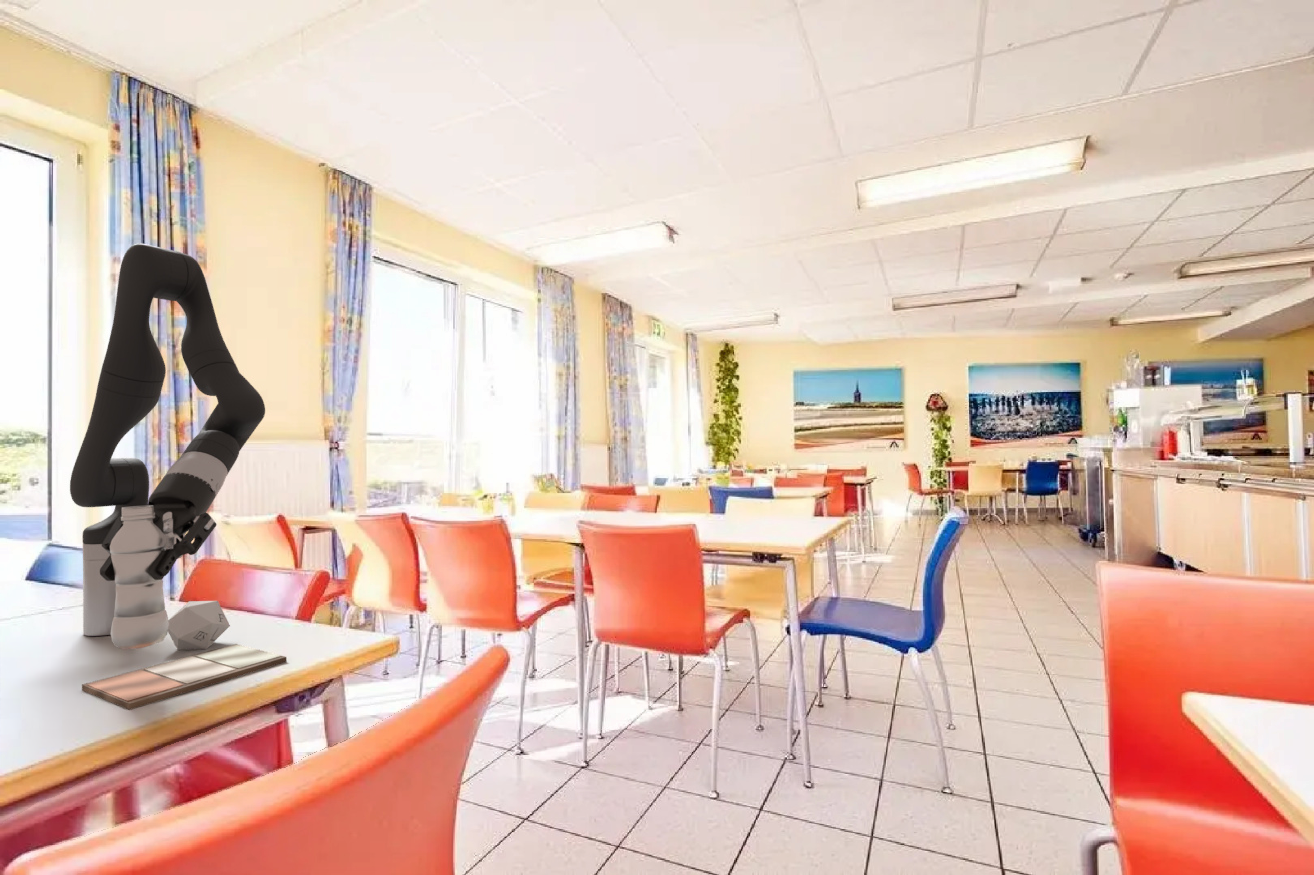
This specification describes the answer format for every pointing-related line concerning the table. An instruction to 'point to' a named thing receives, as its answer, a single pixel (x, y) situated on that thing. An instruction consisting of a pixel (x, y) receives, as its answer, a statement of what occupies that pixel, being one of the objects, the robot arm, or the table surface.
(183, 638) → the die
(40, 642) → the table surface
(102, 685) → the game board
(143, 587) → the plastic bottle
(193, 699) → the table surface
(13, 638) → the table surface
